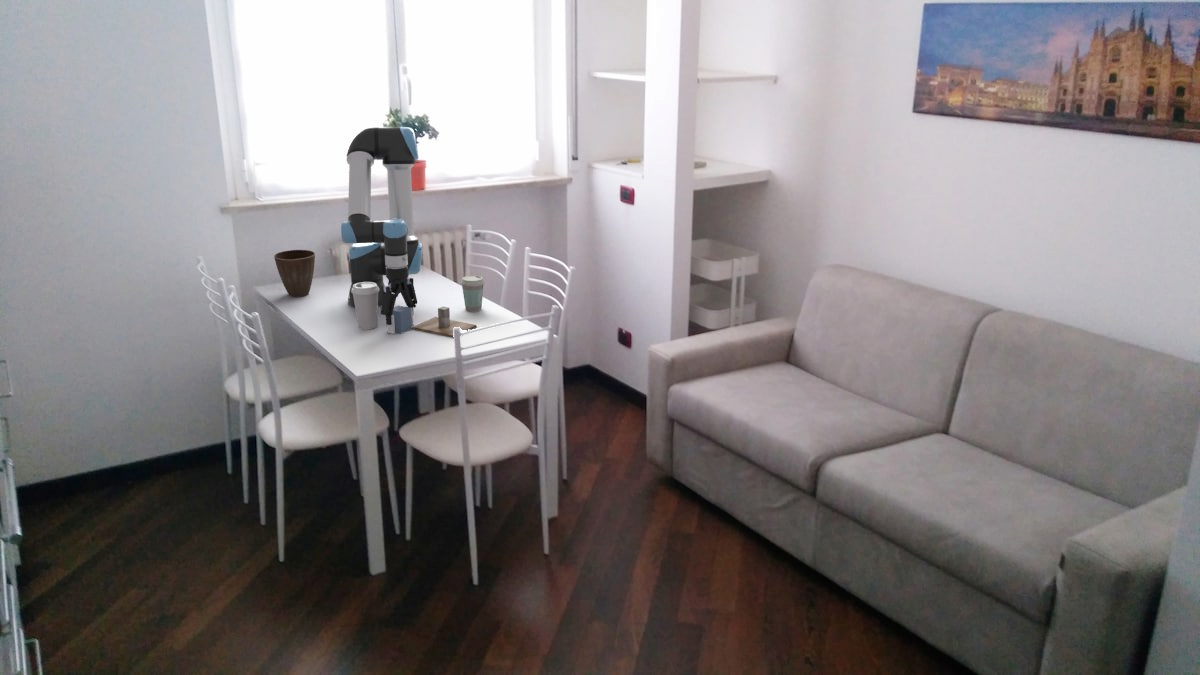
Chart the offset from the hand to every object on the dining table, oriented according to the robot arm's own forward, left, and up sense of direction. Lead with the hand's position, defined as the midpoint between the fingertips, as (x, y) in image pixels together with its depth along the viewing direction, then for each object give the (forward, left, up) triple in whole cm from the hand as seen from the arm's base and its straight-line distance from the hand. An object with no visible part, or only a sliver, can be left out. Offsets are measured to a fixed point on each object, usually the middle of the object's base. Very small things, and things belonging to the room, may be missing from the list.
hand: (400, 329), depth 317 cm
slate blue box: (0, 0, 0) cm, 0 cm away
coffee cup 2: (+8, +32, 0) cm, 33 cm away
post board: (+12, +9, 0) cm, 15 cm away
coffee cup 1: (-12, -3, 0) cm, 12 cm away
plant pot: (-61, +13, 0) cm, 62 cm away
